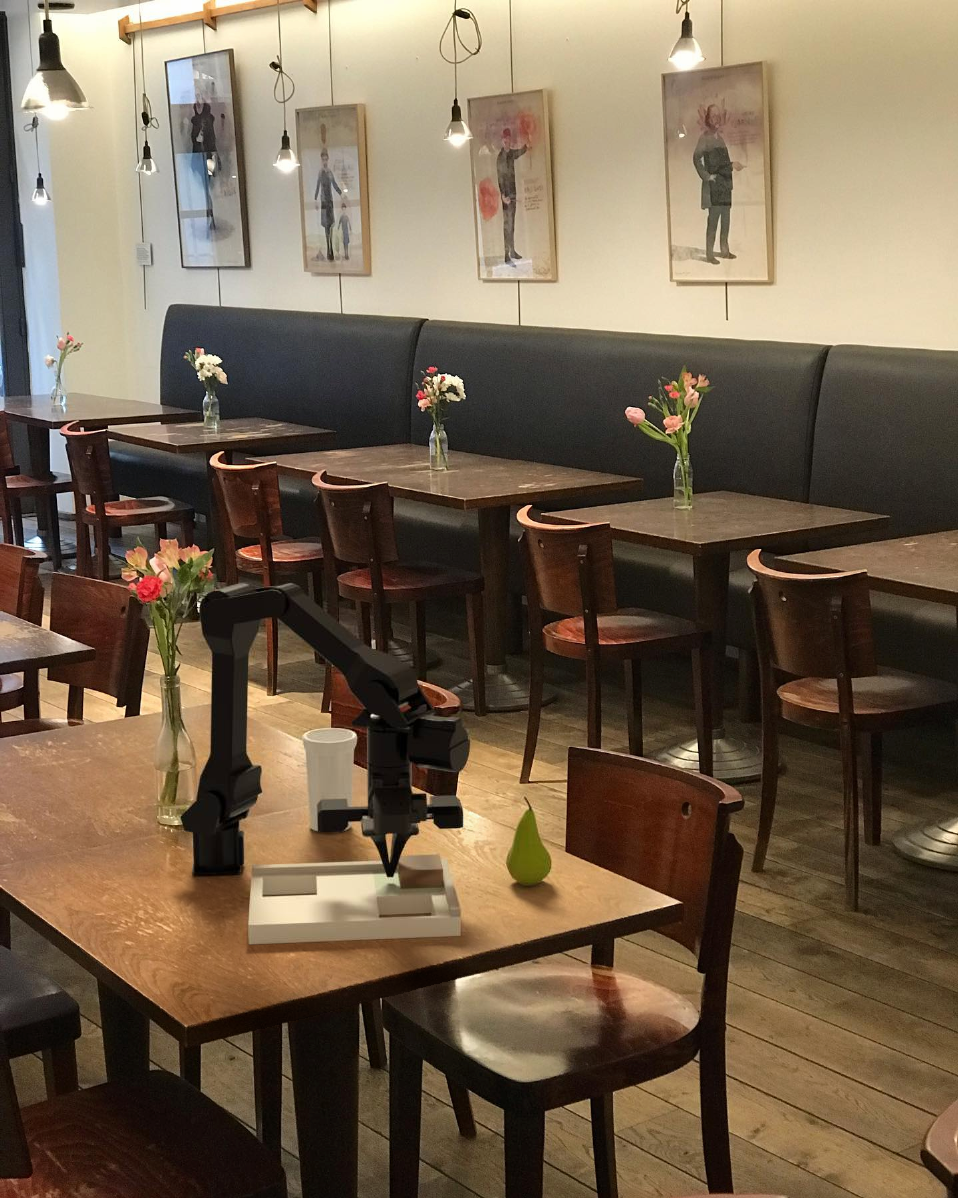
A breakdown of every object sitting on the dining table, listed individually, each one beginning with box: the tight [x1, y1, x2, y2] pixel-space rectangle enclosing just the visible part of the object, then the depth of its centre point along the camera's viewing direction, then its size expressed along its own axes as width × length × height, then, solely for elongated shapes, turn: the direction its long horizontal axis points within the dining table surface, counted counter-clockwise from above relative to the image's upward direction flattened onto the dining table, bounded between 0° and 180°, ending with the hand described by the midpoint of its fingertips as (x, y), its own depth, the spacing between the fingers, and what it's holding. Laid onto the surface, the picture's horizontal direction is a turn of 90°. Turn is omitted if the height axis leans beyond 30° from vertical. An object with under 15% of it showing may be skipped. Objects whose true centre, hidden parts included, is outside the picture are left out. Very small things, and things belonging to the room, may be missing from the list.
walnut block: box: [398, 854, 443, 889], centre depth 209 cm, size 6×6×2 cm
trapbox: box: [247, 857, 462, 945], centre depth 205 cm, size 26×18×4 cm
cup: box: [301, 727, 358, 832], centre depth 236 cm, size 8×8×14 cm
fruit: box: [505, 796, 553, 887], centre depth 215 cm, size 6×6×12 cm
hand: (390, 876), depth 209 cm, fingers closed
